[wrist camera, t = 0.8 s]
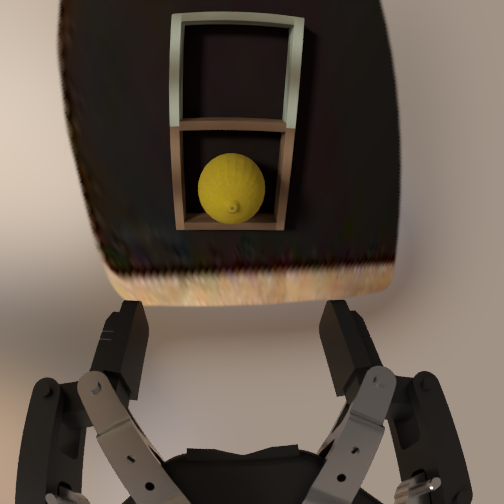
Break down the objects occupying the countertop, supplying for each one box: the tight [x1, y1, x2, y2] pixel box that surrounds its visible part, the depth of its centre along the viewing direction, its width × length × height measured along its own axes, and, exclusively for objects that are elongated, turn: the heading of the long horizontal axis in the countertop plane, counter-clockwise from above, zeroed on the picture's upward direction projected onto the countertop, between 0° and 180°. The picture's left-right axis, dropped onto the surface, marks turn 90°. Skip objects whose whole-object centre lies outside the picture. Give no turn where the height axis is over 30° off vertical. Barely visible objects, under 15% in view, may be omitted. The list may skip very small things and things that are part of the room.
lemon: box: [198, 153, 265, 224], centre depth 23 cm, size 6×6×8 cm
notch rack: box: [169, 12, 304, 230], centre depth 23 cm, size 20×11×2 cm, turn 177°
